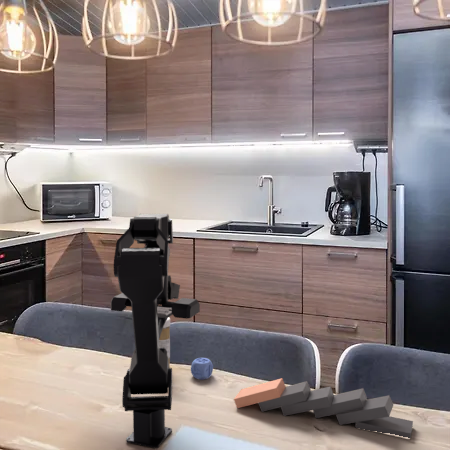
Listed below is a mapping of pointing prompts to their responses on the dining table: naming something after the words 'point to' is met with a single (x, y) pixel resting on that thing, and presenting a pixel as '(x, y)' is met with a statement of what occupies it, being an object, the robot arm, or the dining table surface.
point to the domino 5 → (368, 411)
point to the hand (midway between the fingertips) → (155, 343)
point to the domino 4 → (343, 403)
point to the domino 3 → (311, 402)
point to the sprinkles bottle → (165, 338)
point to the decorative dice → (201, 368)
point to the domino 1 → (260, 393)
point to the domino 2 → (288, 396)
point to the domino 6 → (388, 426)
